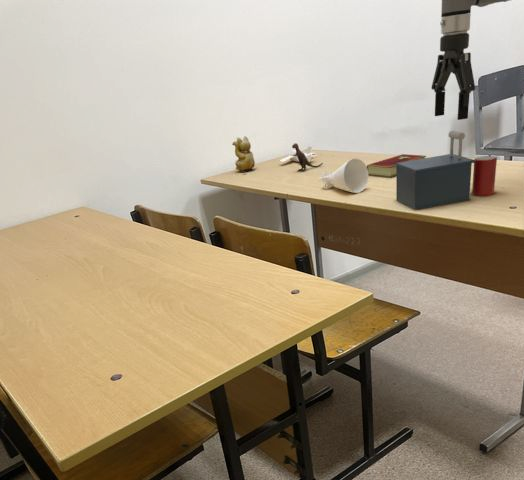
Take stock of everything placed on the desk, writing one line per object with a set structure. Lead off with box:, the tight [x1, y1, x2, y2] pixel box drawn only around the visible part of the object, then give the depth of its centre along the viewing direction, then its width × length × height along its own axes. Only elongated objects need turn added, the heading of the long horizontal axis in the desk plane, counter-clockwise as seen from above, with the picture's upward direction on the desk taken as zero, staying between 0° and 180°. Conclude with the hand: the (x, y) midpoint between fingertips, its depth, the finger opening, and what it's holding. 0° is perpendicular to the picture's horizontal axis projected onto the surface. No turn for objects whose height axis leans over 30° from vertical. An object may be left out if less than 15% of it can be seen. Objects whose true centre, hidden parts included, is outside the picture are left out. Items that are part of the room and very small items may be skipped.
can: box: [471, 155, 498, 197], centre depth 163 cm, size 6×6×11 cm
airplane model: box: [278, 146, 317, 163], centre depth 248 cm, size 20×20×8 cm
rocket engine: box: [318, 157, 370, 194], centre depth 192 cm, size 12×12×18 cm
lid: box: [396, 130, 475, 173], centre depth 159 cm, size 19×14×8 cm
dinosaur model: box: [291, 142, 323, 172], centre depth 231 cm, size 4×12×15 cm
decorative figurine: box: [231, 135, 256, 173], centre depth 245 cm, size 10×8×15 cm
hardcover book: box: [366, 153, 427, 179], centre depth 208 cm, size 12×21×4 cm, turn 128°
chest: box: [395, 163, 473, 211], centre depth 163 cm, size 18×14×11 cm
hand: (450, 117), depth 155 cm, fingers open, 13 cm apart
